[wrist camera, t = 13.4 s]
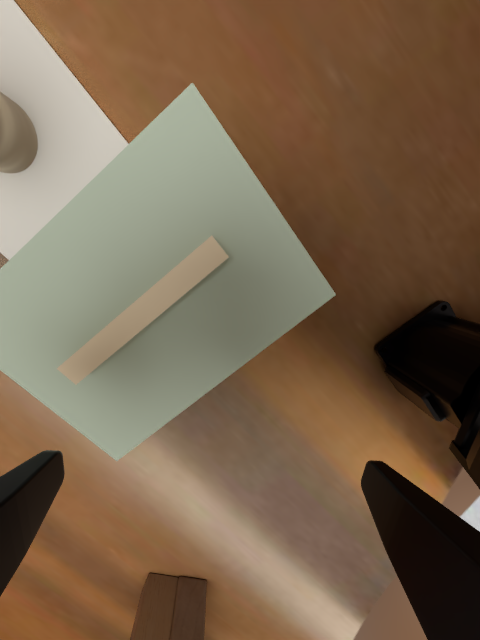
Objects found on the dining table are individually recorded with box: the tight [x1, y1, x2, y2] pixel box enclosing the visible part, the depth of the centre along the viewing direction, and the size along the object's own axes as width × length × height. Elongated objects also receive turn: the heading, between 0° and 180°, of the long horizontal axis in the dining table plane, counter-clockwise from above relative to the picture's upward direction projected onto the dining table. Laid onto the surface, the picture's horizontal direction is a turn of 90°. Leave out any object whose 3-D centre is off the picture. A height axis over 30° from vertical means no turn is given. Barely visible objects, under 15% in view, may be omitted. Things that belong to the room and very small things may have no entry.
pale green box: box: [0, 83, 336, 461], centre depth 14 cm, size 24×18×6 cm
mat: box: [0, 0, 129, 260], centre depth 14 cm, size 11×11×1 cm
